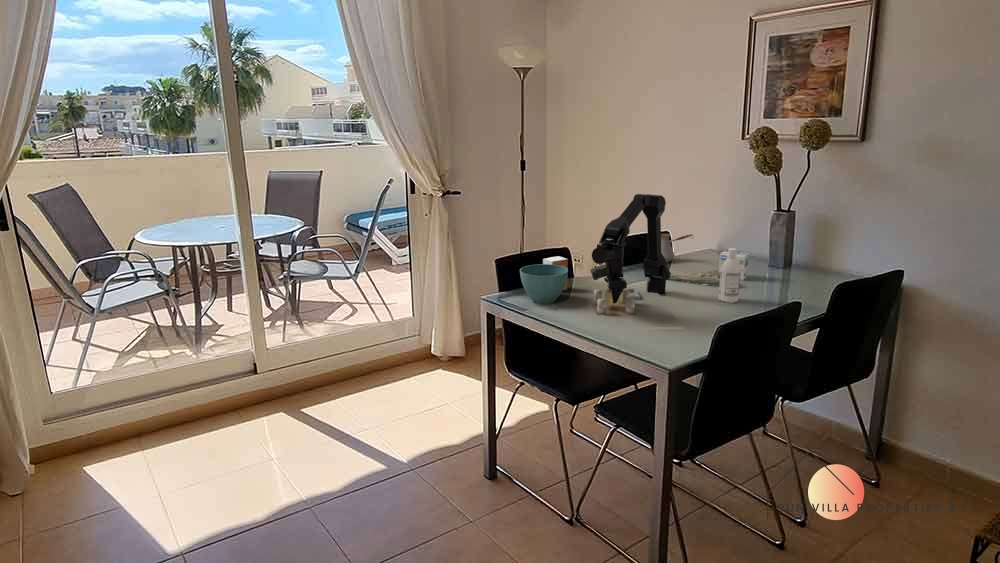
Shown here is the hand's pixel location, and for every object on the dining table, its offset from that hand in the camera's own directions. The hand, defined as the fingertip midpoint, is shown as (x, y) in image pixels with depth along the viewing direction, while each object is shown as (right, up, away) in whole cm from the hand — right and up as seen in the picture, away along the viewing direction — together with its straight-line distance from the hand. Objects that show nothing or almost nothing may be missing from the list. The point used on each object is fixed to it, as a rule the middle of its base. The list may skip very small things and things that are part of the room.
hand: (613, 300), depth 225 cm
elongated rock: (+41, +7, +38) cm, 56 cm away
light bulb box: (+59, +8, +42) cm, 73 cm away
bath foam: (+46, 0, +11) cm, 47 cm away
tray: (+7, +1, +16) cm, 17 cm away
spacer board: (0, -3, +1) cm, 4 cm away
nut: (0, -1, 0) cm, 1 cm away
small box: (-19, +4, +28) cm, 34 cm away
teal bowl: (-24, 0, +14) cm, 28 cm away
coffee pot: (+40, +16, +70) cm, 82 cm away
